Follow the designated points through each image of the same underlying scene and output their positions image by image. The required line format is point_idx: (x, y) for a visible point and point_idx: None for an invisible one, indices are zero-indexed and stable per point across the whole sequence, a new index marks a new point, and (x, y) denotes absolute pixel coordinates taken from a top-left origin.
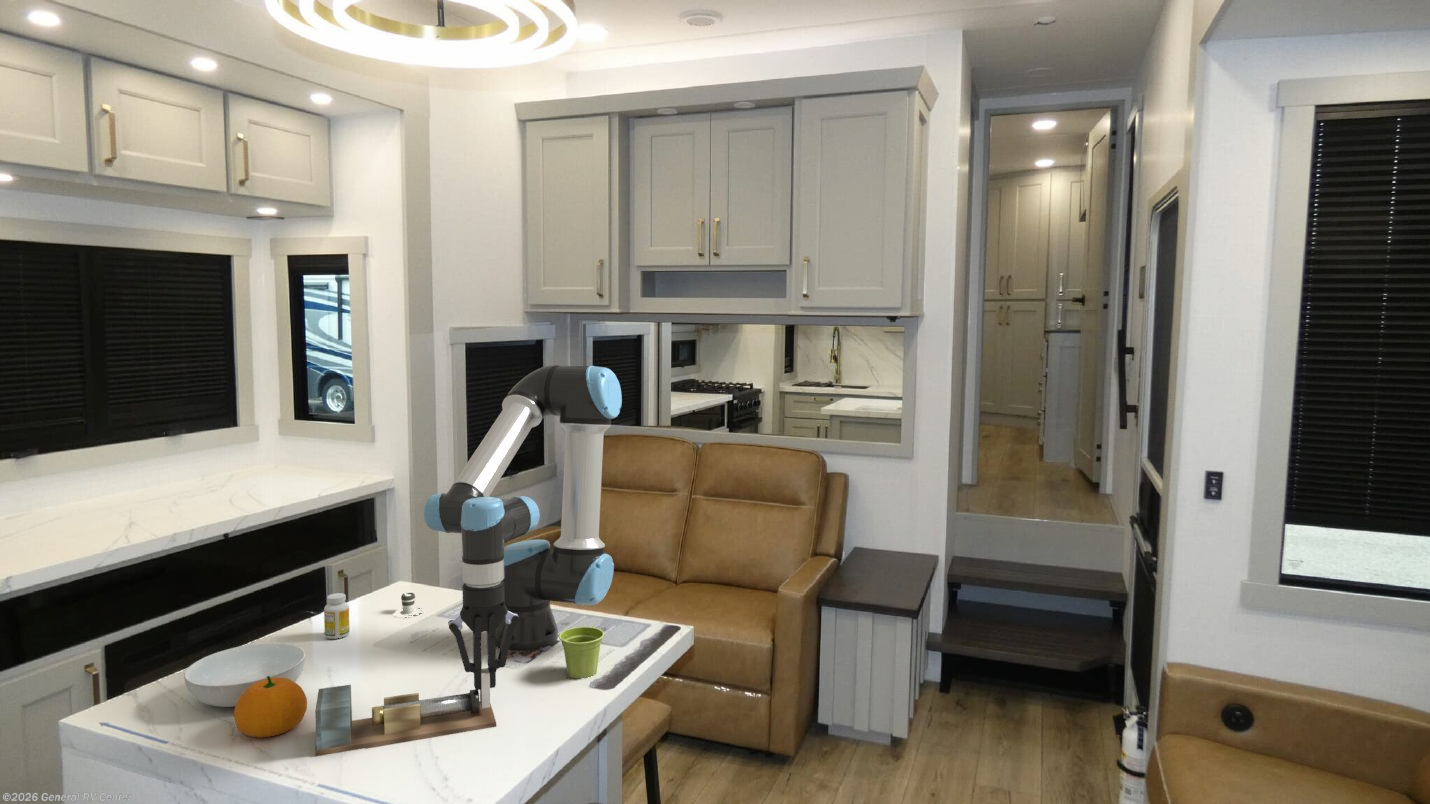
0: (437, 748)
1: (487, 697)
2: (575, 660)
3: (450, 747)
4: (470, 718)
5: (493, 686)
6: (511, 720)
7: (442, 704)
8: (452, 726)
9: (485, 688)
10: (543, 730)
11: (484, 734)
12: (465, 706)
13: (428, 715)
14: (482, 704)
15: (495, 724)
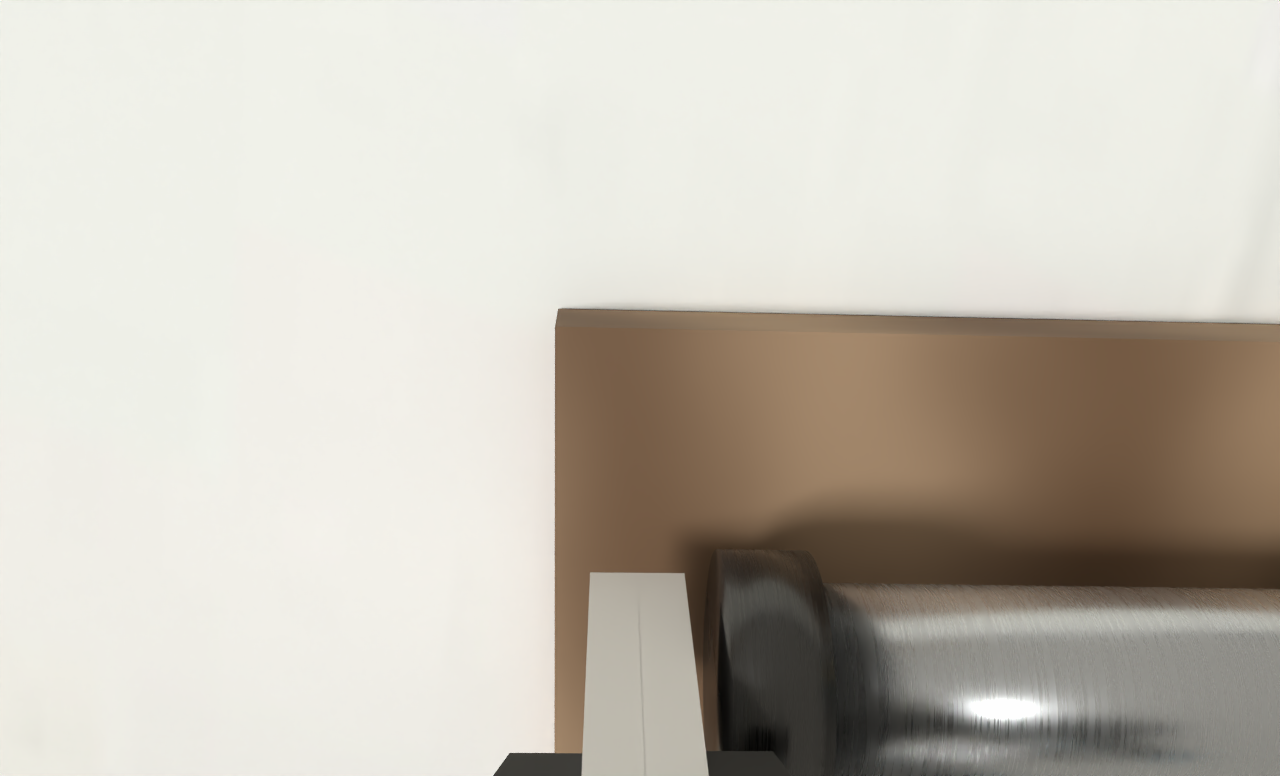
0: (1229, 75)
1: (620, 644)
2: None
3: (1100, 41)
4: (804, 513)
5: (525, 764)
6: (383, 415)
7: (1177, 651)
8: (1017, 406)
9: (648, 728)
10: (37, 43)
11: (700, 207)
12: (885, 600)
13: (1277, 590)
14: (680, 600)
15: (564, 320)
